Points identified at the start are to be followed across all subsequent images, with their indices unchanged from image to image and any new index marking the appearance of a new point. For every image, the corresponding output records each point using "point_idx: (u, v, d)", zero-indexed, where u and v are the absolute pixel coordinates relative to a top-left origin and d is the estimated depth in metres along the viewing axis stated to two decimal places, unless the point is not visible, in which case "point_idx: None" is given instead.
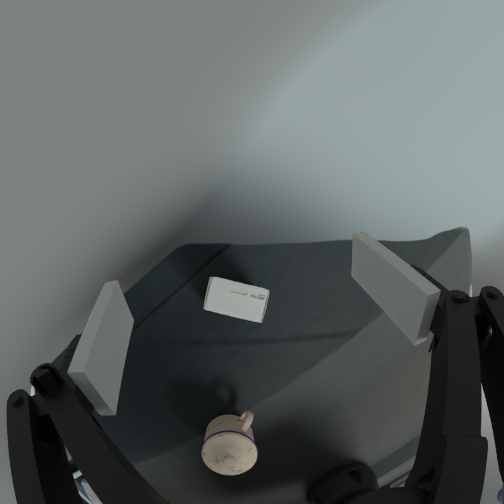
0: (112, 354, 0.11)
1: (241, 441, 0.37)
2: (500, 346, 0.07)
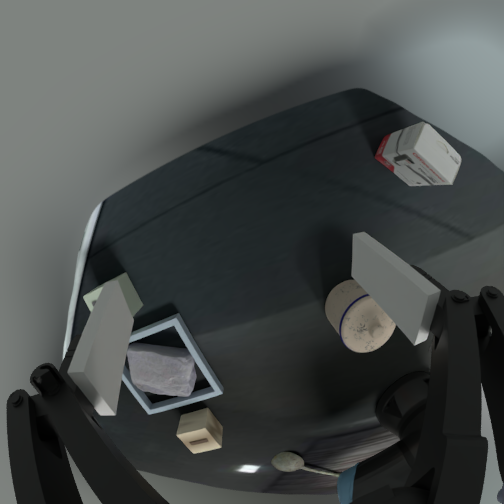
0: (112, 354, 0.11)
1: None
2: (500, 346, 0.07)
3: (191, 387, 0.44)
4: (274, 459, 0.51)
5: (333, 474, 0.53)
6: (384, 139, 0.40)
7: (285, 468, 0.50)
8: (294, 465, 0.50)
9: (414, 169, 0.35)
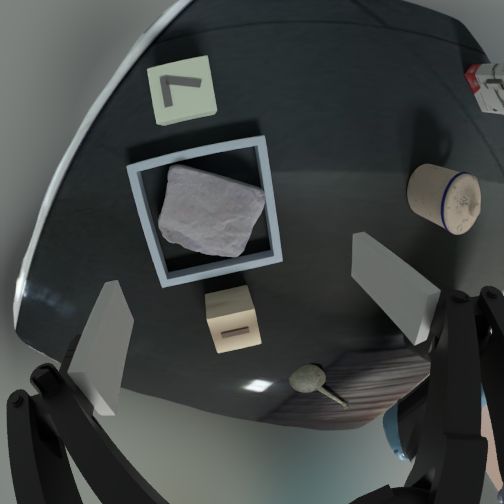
0: (112, 354, 0.11)
1: (479, 196, 0.30)
2: (500, 346, 0.07)
3: (246, 242, 0.35)
4: (295, 374, 0.49)
5: (342, 402, 0.56)
6: (473, 65, 0.30)
7: (306, 386, 0.49)
8: (316, 384, 0.49)
9: (500, 95, 0.27)
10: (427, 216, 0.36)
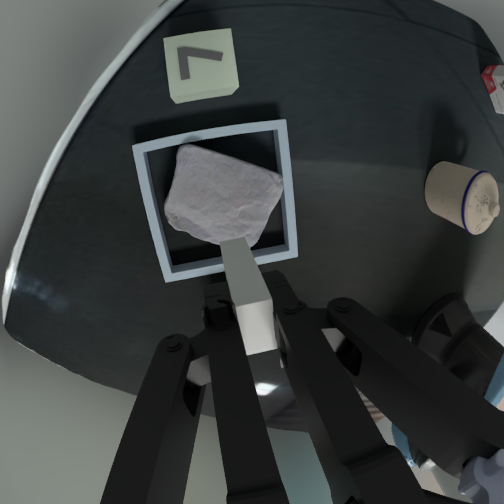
0: None
1: (497, 196, 0.28)
2: (379, 365, 0.08)
3: None
4: None
5: None
6: (490, 66, 0.28)
7: None
8: None
9: None
10: (445, 215, 0.33)
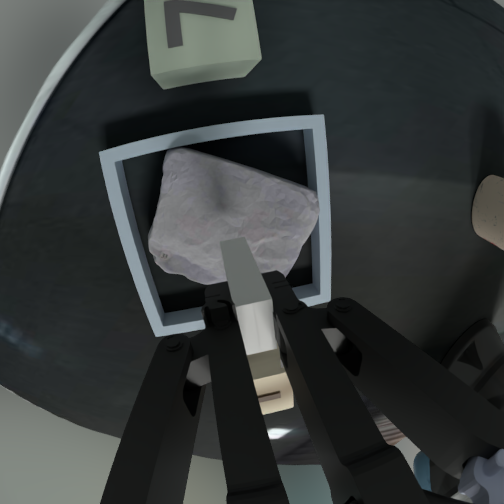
0: None
1: None
2: (379, 365, 0.08)
3: None
4: None
5: None
6: None
7: None
8: None
9: None
10: (495, 240, 0.24)
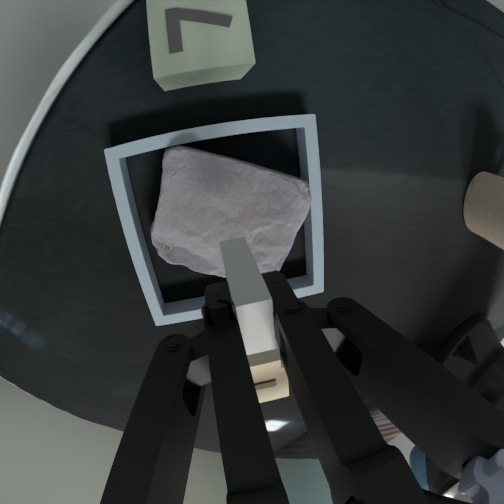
0: None
1: None
2: (379, 365, 0.08)
3: None
4: None
5: None
6: None
7: None
8: None
9: None
10: (486, 235, 0.26)
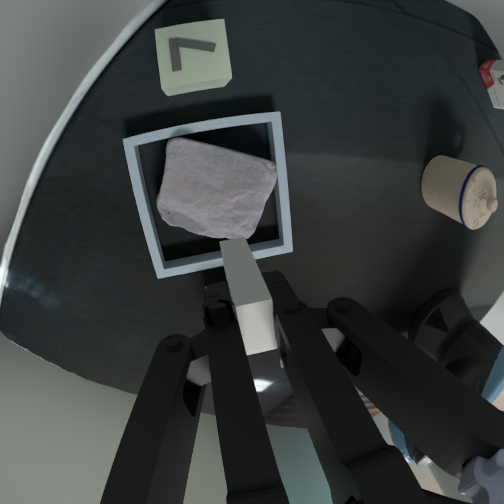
0: None
1: (495, 191, 0.28)
2: (379, 365, 0.08)
3: None
4: None
5: None
6: (487, 61, 0.27)
7: None
8: None
9: None
10: (442, 209, 0.33)
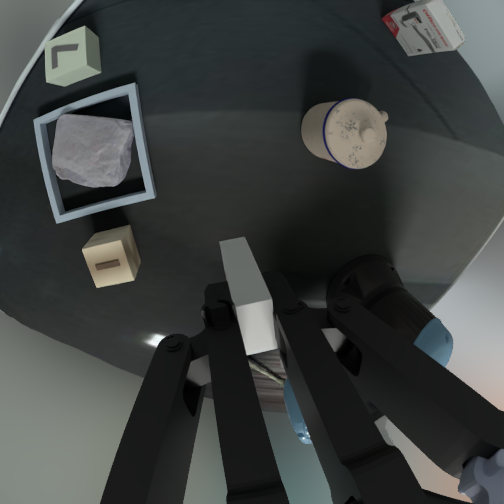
0: None
1: (382, 125, 0.30)
2: (379, 365, 0.08)
3: (121, 170, 0.33)
4: None
5: (276, 379, 0.57)
6: (394, 10, 0.30)
7: None
8: None
9: (420, 30, 0.27)
10: (320, 152, 0.35)
